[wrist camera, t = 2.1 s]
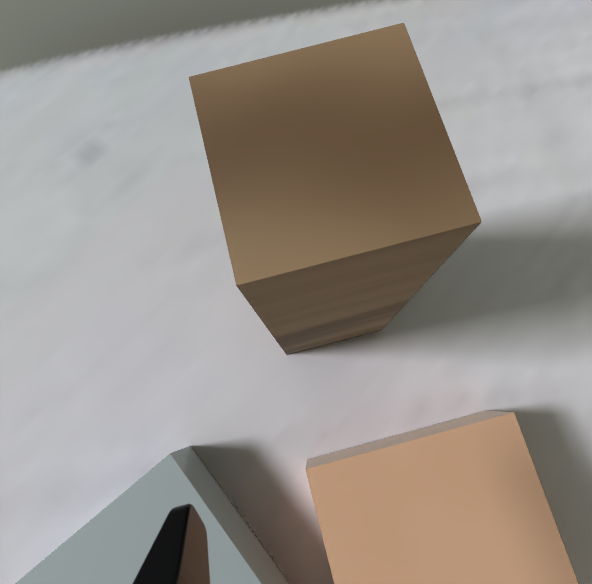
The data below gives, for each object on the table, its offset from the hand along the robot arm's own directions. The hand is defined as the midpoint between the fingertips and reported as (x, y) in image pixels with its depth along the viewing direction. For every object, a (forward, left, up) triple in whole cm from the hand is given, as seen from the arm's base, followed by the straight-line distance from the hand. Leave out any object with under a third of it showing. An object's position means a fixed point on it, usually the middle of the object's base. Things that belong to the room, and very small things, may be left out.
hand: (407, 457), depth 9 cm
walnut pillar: (+3, -6, -13) cm, 14 cm away
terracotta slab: (-4, +4, -13) cm, 14 cm away
